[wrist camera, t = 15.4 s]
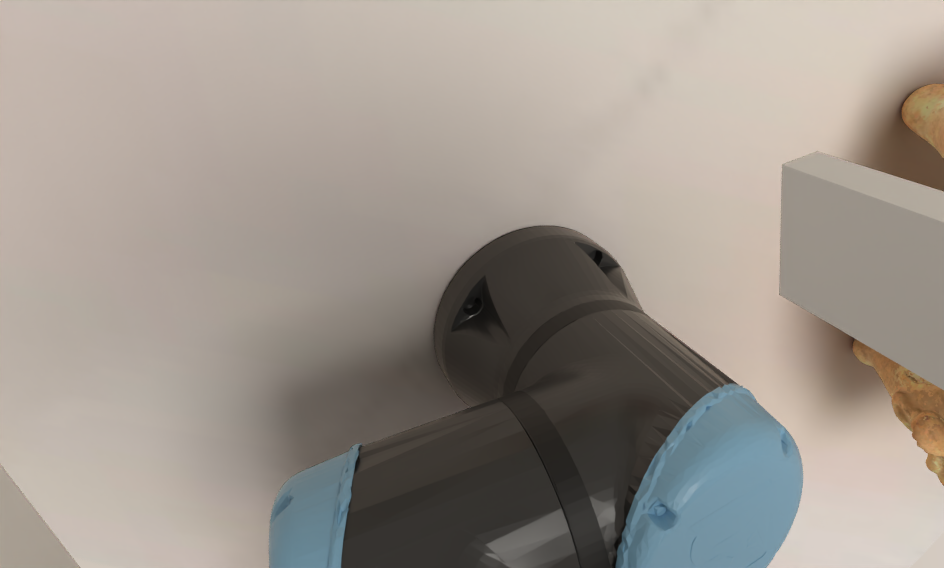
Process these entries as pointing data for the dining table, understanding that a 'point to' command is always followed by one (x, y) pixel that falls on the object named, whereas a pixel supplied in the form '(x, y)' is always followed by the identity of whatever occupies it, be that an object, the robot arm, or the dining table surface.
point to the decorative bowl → (913, 398)
